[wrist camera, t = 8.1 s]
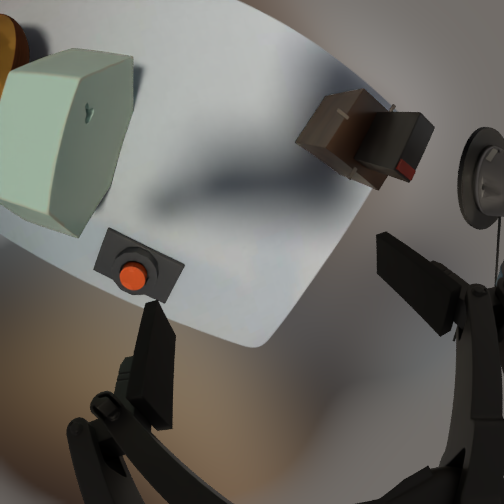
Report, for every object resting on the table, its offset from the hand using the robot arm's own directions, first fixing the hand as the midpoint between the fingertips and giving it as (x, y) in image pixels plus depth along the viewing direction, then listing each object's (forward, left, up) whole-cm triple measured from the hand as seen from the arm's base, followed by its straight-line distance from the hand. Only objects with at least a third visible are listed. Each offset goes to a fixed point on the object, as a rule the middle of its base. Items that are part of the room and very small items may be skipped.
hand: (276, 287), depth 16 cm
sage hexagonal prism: (+20, +1, -23) cm, 30 cm away
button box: (+7, +15, -23) cm, 28 cm away
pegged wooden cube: (-7, -14, -23) cm, 28 cm away
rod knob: (-7, -14, -13) cm, 20 cm away
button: (+7, +15, -21) cm, 27 cm away
